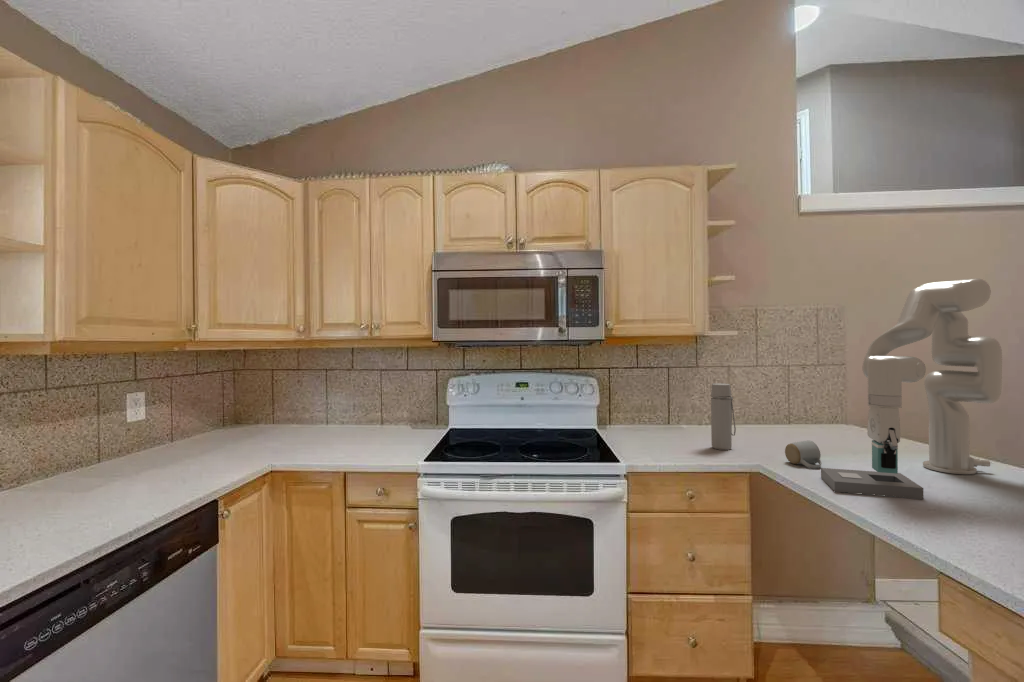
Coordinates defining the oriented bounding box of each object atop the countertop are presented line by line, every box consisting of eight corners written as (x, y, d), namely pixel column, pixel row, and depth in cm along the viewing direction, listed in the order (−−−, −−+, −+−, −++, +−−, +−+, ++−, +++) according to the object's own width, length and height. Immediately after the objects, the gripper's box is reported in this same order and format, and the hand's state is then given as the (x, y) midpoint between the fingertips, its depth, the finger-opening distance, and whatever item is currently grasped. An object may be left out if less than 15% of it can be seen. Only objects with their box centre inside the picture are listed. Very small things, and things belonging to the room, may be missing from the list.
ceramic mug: (782, 461, 163) (782, 439, 163) (803, 460, 164) (803, 438, 164) (806, 470, 152) (806, 447, 152) (828, 468, 154) (829, 445, 154)
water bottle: (717, 451, 179) (716, 385, 179) (707, 446, 187) (706, 383, 186) (740, 450, 179) (739, 384, 179) (730, 445, 187) (729, 382, 187)
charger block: (891, 469, 134) (891, 441, 134) (897, 473, 130) (897, 444, 130) (871, 467, 136) (871, 440, 136) (877, 472, 131) (877, 443, 131)
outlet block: (900, 483, 137) (900, 472, 137) (923, 499, 124) (923, 487, 124) (821, 477, 144) (820, 467, 144) (834, 492, 131) (834, 480, 131)
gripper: (858, 397, 142) (858, 457, 142) (879, 404, 126) (880, 472, 126) (888, 397, 139) (888, 459, 139) (914, 405, 123) (914, 475, 123)
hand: (884, 465), depth 133 cm, fingers closed on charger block, 4 cm apart
